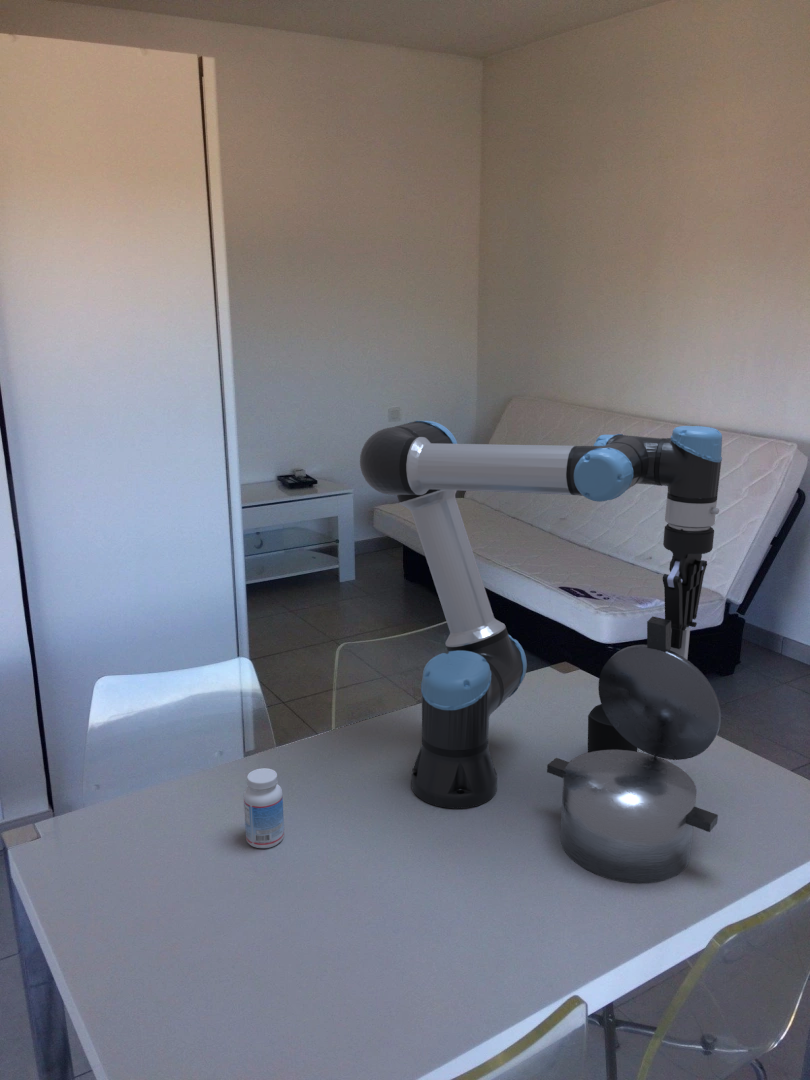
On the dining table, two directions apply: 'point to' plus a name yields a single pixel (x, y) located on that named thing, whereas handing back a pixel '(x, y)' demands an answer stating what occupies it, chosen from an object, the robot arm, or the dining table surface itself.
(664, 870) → the cooking pot
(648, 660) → the pot lid
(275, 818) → the pill bottle
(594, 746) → the pen holder
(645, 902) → the dining table surface
